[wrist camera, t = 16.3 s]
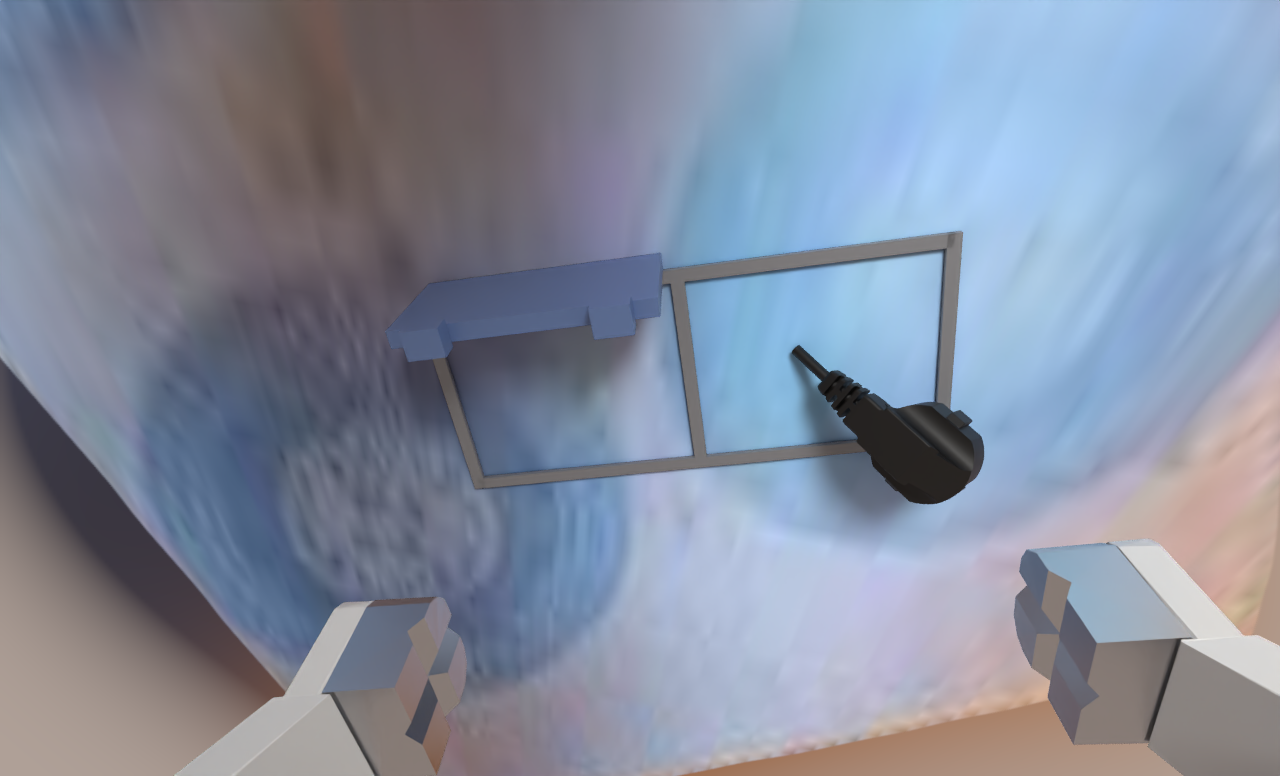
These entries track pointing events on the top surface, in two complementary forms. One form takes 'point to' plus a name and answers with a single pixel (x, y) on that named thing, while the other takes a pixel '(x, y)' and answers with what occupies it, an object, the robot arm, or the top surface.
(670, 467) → the frame
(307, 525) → the top surface
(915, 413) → the power plug
